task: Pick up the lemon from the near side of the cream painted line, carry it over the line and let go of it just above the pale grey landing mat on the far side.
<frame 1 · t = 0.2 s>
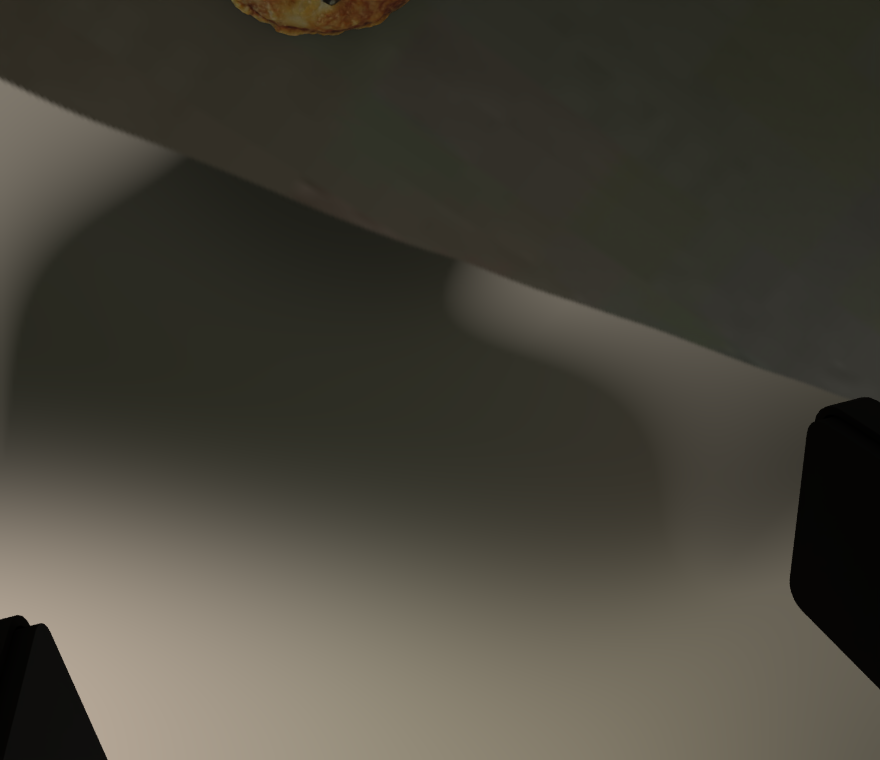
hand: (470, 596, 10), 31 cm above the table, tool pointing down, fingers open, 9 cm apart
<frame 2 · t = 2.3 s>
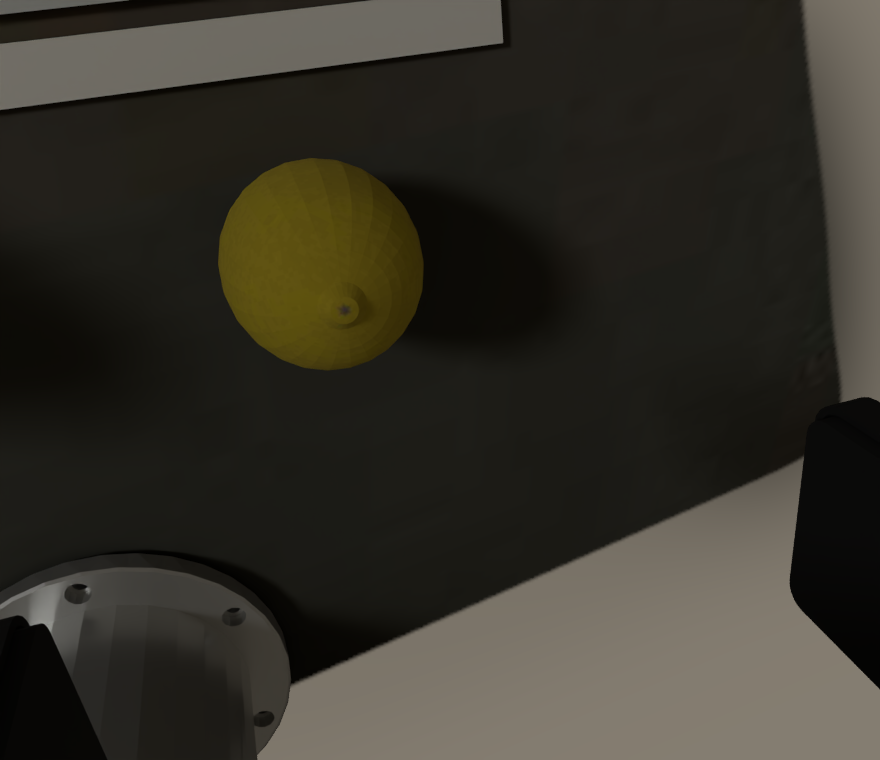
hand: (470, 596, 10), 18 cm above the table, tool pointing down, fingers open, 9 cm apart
foul line: (200, 51, 23), on the table
lemon: (303, 225, 26), on the table
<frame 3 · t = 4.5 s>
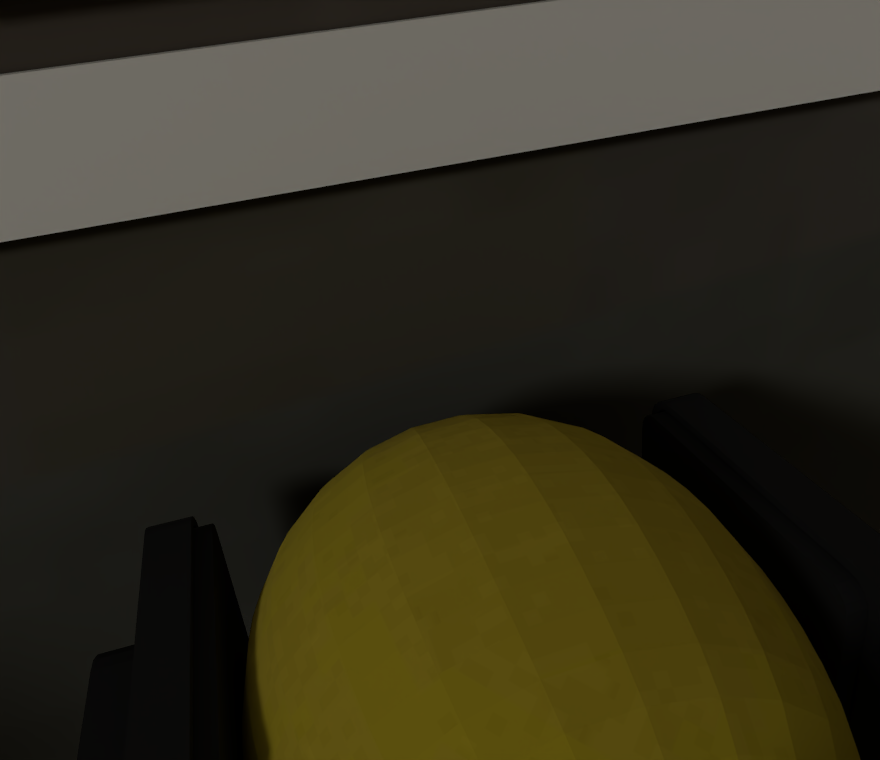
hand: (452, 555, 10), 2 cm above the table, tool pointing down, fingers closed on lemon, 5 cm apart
foul line: (188, 129, 9), on the table
lemon: (419, 485, 12), on the table, touching gripper
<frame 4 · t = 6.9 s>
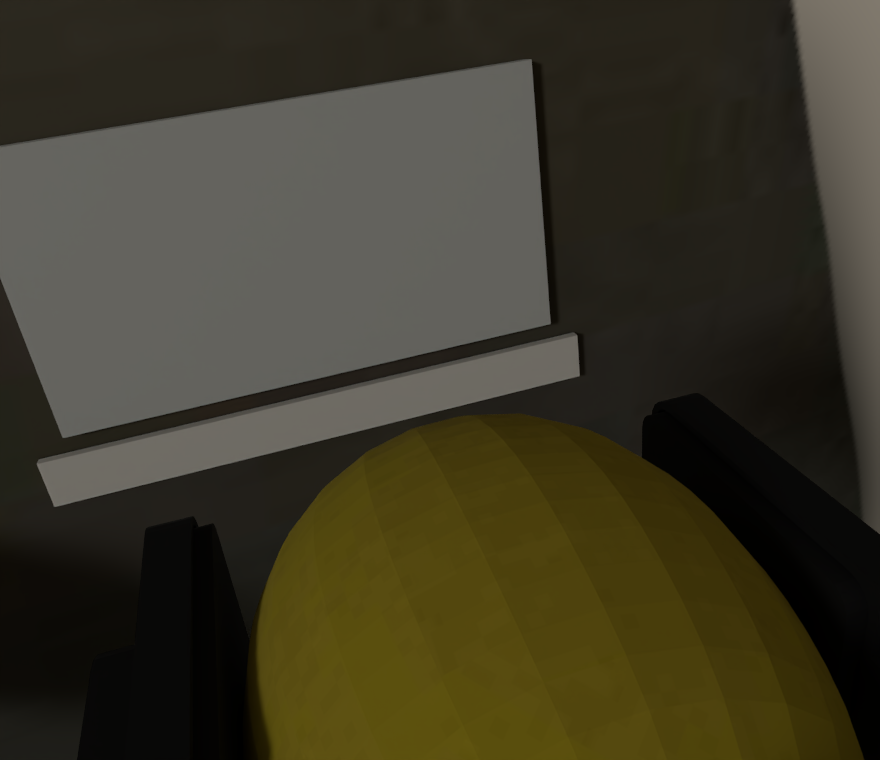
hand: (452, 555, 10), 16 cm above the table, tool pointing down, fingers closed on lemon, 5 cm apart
landing mat: (292, 248, 24), on the table
foul line: (328, 412, 27), on the table
lemon: (420, 486, 12), point 14 cm above the table, touching gripper
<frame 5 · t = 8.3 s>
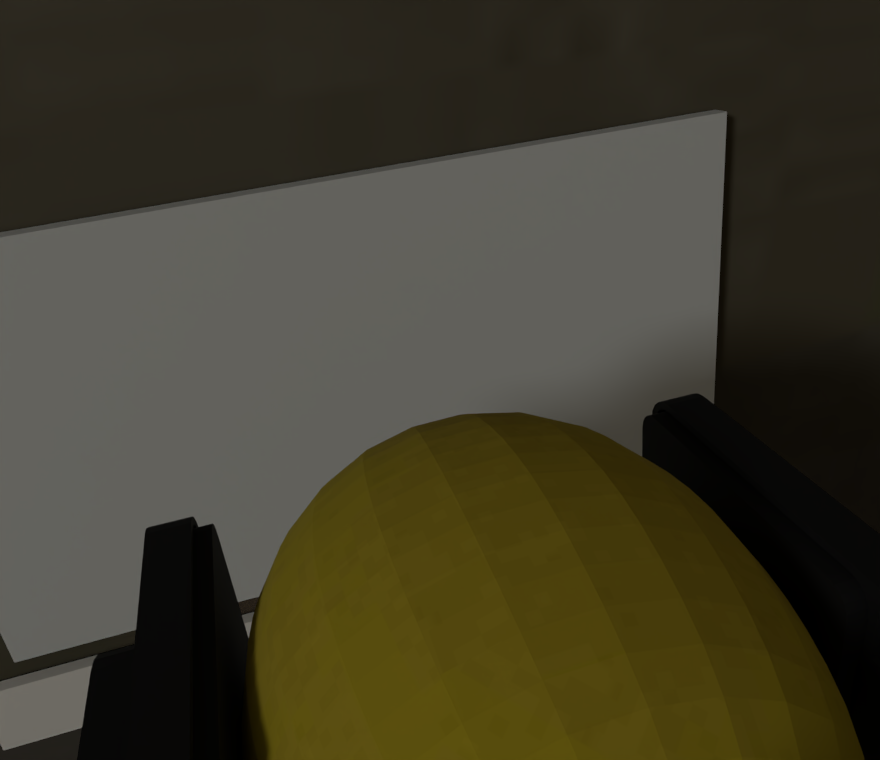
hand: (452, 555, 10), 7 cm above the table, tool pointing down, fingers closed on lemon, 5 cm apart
landing mat: (359, 384, 16), on the table
foul line: (397, 599, 19), on the table
lemon: (420, 485, 12), point 5 cm above the table, touching gripper
when the fingers open (4 cm above the table, at t = 9.2 s): lemon drops 2 cm, resting on landing mat.
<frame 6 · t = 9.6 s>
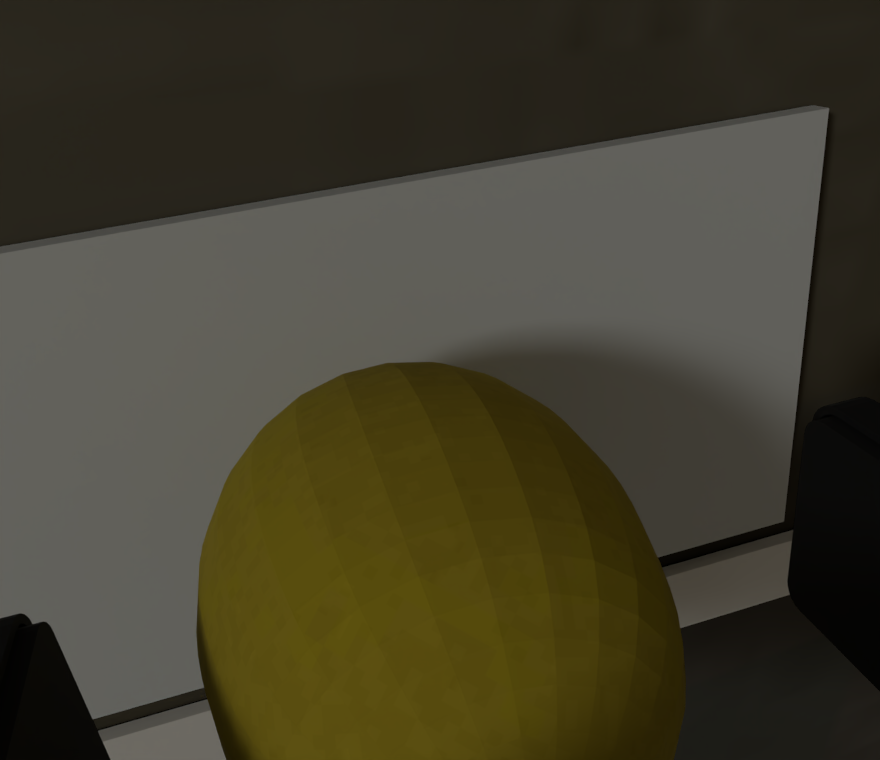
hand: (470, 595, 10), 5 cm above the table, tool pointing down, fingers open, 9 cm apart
landing mat: (389, 427, 14), on the table
foul line: (427, 665, 17), on the table
lemon: (365, 435, 14), resting on landing mat
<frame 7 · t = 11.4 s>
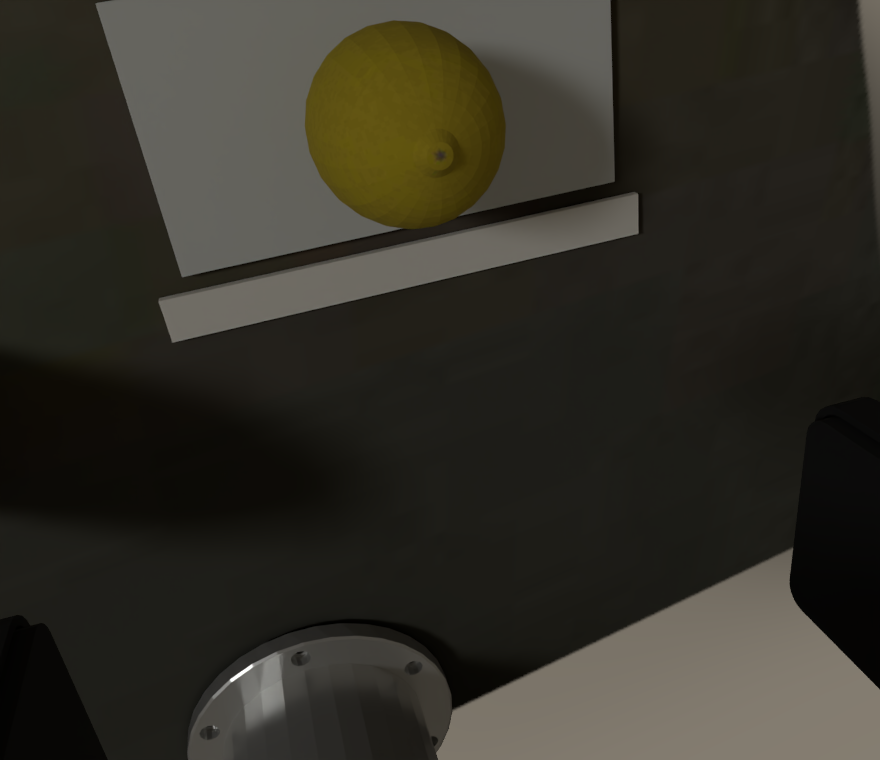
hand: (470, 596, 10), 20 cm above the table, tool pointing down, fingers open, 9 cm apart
landing mat: (386, 102, 27), on the table
foul line: (412, 262, 30), on the table
lemon: (374, 103, 26), resting on landing mat
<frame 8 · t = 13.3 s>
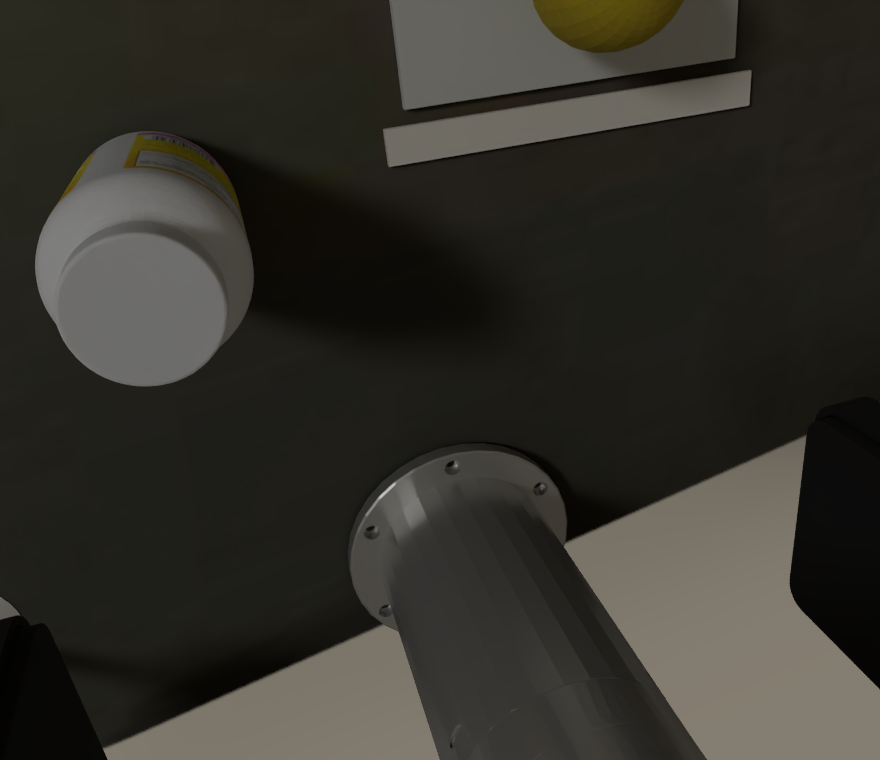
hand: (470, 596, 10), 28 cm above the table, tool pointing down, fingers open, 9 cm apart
supplement bottle: (159, 208, 34), on the table
foul line: (574, 116, 37), on the table
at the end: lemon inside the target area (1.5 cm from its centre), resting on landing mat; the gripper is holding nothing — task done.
